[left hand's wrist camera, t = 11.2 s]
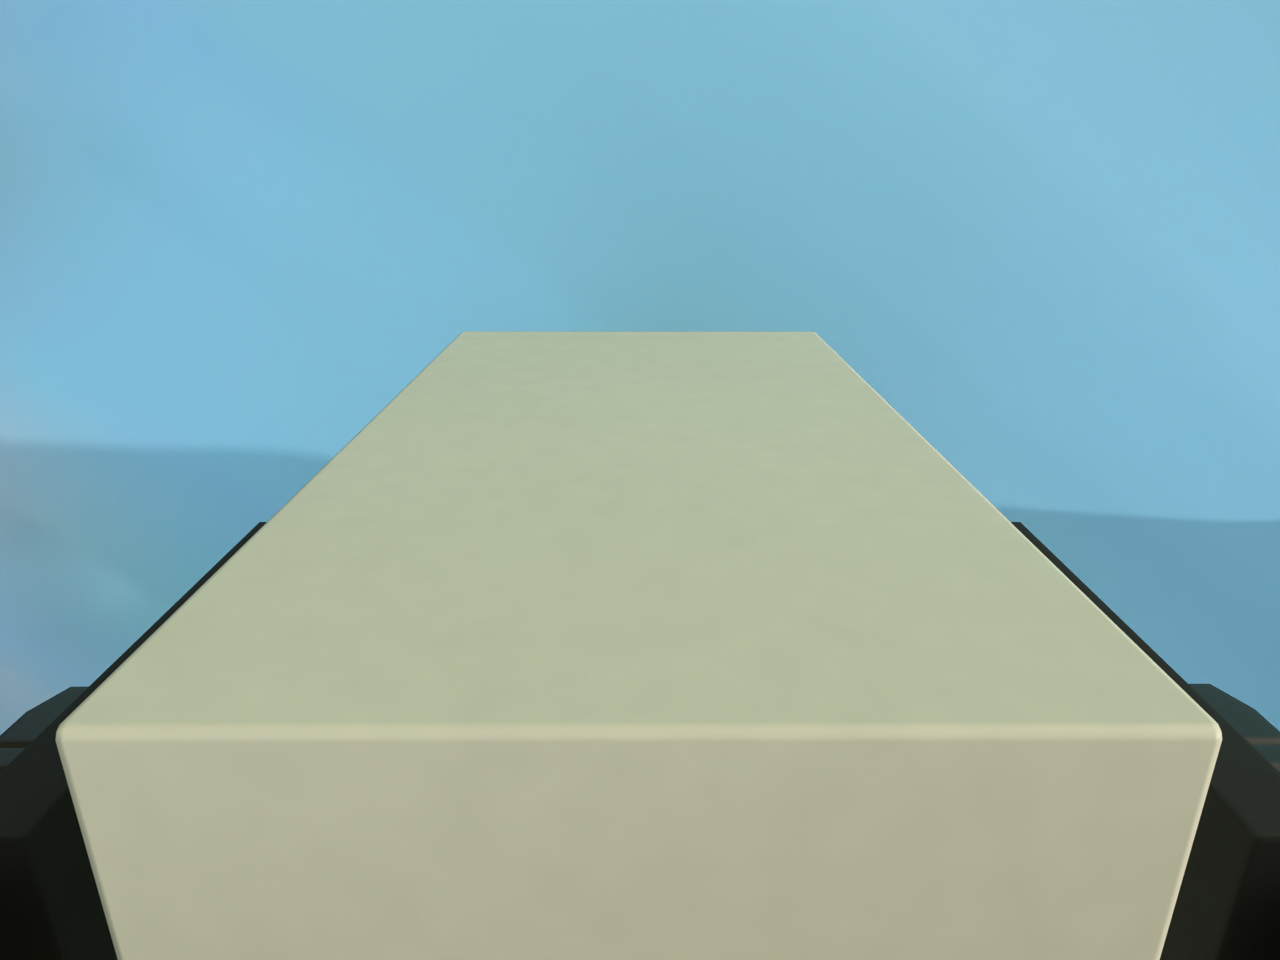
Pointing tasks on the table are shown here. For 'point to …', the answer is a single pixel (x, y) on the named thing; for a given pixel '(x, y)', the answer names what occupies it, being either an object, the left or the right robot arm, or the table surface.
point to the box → (638, 692)
